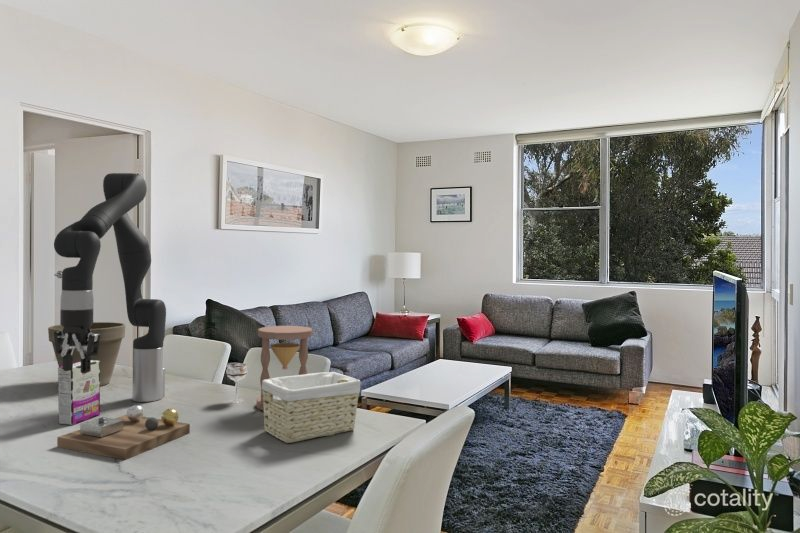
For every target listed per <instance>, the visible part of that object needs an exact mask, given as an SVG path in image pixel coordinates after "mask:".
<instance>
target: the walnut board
mask: <svg viewBox="0 0 800 533" xmlns="http://www.w3.org/2000/svg"><path fill="white" fill-rule="evenodd" d="M148 418H149V417H146V416H143V418H142V419H141V420H139V421H131V420H129V419H128V417H127V414H125V415H121V416H119V417H115V418H114V419H119V420H124V424H123V430H120V431H117V432H114V433H112V434H109V435H106V436H103V437H97V436H91V435H85V434H80V429H77V430H75V431H72V432H69V433H66V434H63V435H60V436H57V437H56V438H57V440H56V442H57V443H56V444H57V448H62V449H65V450H66V449H67V450H71V451H77V452H82V453H88V454H92V455H98V456H104V457H108V458H115V459H119V460H125V461H126V460H127V459H130V458H133V457H135V456H138V455H140V454H142V453H145V452H147V451H150V450H152V449H154V448H157V447H159V446H162V445H164V444H166V443H169V442H171V441H174V440H176V439H179V438H181V437H183V436H186V435H188V433H189V434H190V428H191V425H190V423H186V422H179V421H177V422H176V423H175V424H173V425H170V426H169V425H165V424H164V423H163V422H162V420H161V419H159V418H156V419H157V420H158V426H157V427H156V428H155V429H153V430H149V429H147V428H146V426H145V422H146V420H147V419H148Z"/></svg>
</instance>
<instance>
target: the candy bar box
mask: <svg viewBox="0 0 800 533" xmlns="http://www.w3.org/2000/svg"><path fill="white" fill-rule="evenodd" d="M57 369H58V370H57V373H58V374H57V381H58V382H57V383H58V384H57V387H58V400H57V402H58V424H59V425H62V424H65V425H66V426H75V425H76V424H77V425H78V424H79V423H80V424H81V423H82V422H84V421H87V420H89V419H92V418H95V417H98V416H100V415H101V386H100V361H96V360H91V369H90V371H89V372H88V373H81V362H77V363H73V369H72V370H70V371H64V370H63V366H62V367H59V366H58V368H57ZM65 425H64V426H65Z"/></svg>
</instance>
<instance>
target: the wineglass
mask: <svg viewBox="0 0 800 533" xmlns="http://www.w3.org/2000/svg"><path fill="white" fill-rule="evenodd" d="M226 367H227V368H226V375H227V378H229V379H230V380H232V381H234V383H235V398H234V399H230V400H228V403H230V404H240V403H243V402H245V400H244V399H241V398H238V392H239V391H238V389H239V387H238V386H239V383H240V381H242V380H243V379H245V377H246V376H247V375H248V369H247V367H248V364H247V363H241V362H237V363H235V362H234V363H229V364H226Z"/></svg>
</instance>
